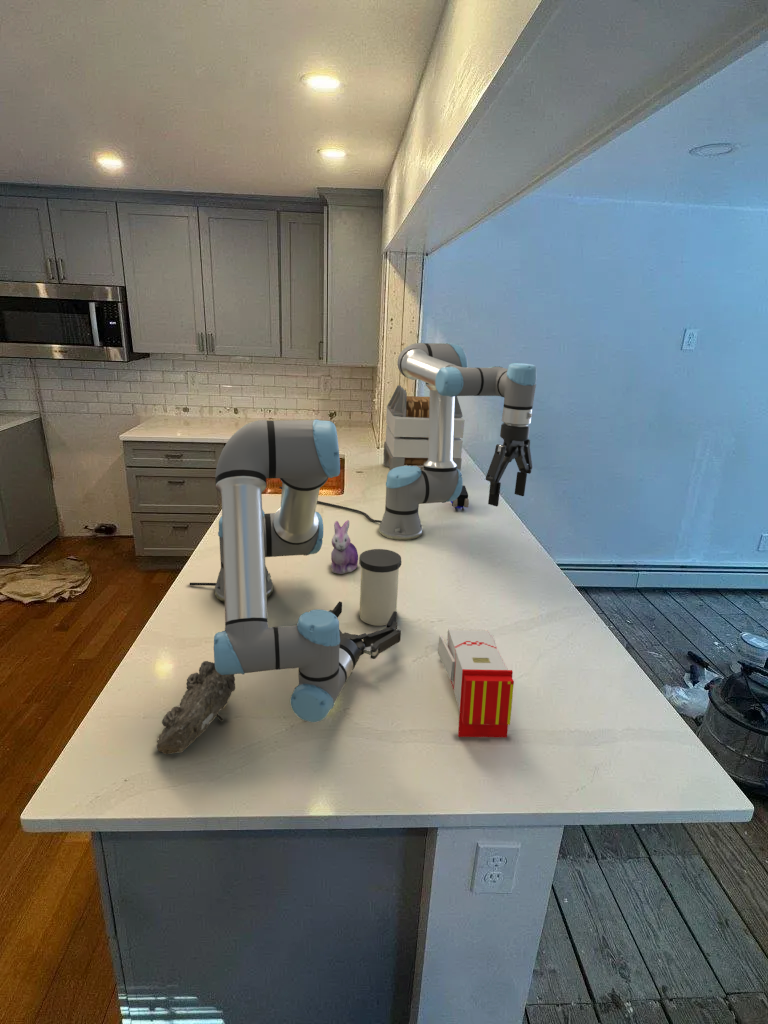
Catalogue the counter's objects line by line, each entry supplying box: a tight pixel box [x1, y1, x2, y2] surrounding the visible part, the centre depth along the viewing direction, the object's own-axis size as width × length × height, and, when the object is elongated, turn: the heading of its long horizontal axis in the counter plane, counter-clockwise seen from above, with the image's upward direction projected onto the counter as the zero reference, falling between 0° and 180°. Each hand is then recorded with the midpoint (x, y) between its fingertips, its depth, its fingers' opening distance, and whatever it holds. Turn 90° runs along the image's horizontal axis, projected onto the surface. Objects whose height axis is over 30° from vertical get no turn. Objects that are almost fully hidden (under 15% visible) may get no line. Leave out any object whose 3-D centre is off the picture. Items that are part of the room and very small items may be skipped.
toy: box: [437, 628, 515, 738], centre depth 117 cm, size 12×13×30 cm
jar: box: [359, 566, 400, 627], centre depth 143 cm, size 9×9×16 cm
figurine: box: [330, 519, 359, 575], centre depth 169 cm, size 9×10×15 cm
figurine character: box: [450, 485, 470, 512], centre depth 229 cm, size 7×8×15 cm
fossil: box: [156, 660, 236, 755], centre depth 106 cm, size 22×10×15 cm
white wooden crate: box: [383, 384, 465, 473], centre depth 268 cm, size 34×33×41 cm
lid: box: [358, 548, 402, 573], centre depth 141 cm, size 10×10×2 cm
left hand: (367, 611), depth 135 cm, fingers open, 13 cm apart
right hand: (506, 499), depth 157 cm, fingers open, 13 cm apart
